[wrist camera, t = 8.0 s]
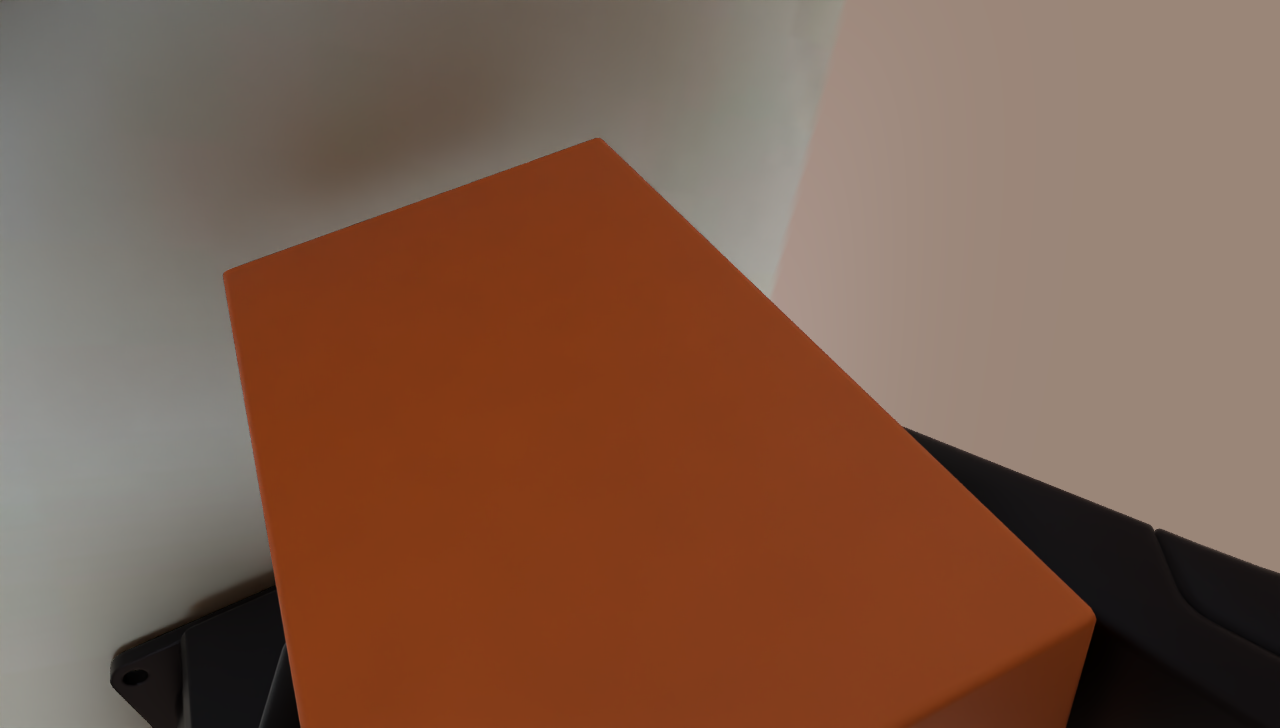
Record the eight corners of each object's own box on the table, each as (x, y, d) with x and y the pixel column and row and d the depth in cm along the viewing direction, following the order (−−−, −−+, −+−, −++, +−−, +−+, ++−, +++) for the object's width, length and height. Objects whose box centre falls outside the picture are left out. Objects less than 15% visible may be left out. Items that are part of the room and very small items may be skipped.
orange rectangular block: (599, 134, 12) (1103, 613, 6) (641, 338, 14) (1038, 840, 8) (219, 270, 11) (349, 1037, 5) (329, 467, 13) (514, 1164, 7)
